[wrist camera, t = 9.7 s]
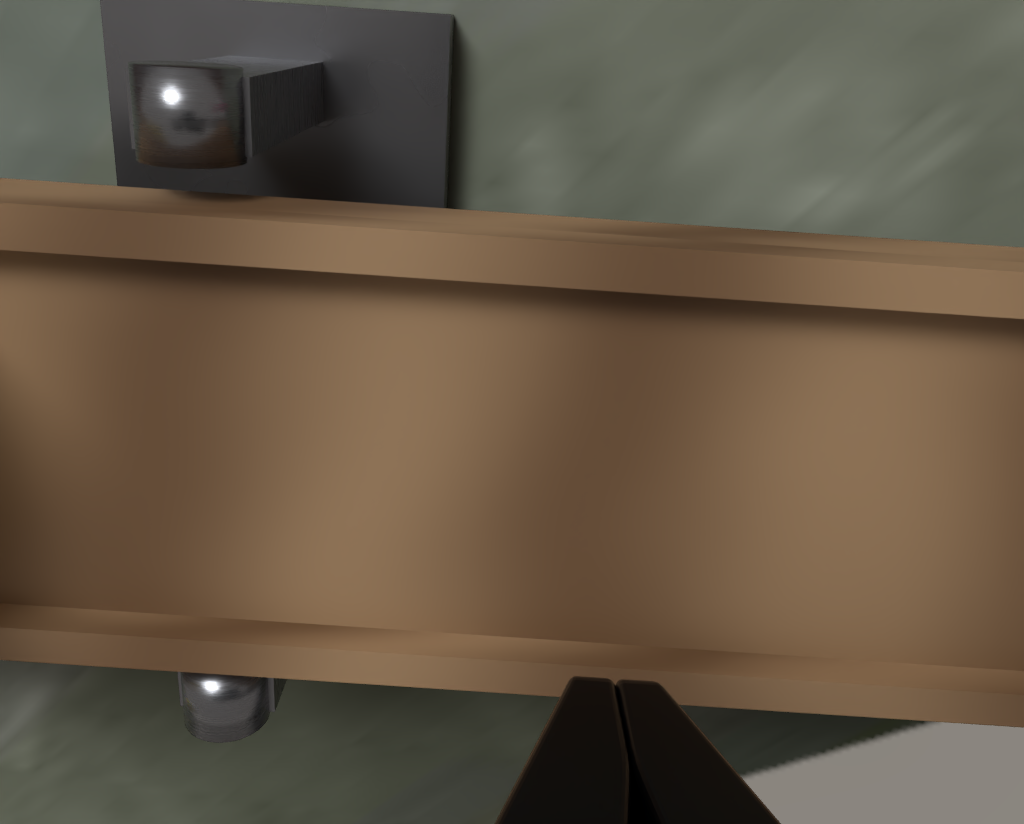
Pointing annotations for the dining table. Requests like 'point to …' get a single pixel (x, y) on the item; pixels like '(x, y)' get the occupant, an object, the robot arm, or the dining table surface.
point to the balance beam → (511, 452)
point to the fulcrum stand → (276, 148)
